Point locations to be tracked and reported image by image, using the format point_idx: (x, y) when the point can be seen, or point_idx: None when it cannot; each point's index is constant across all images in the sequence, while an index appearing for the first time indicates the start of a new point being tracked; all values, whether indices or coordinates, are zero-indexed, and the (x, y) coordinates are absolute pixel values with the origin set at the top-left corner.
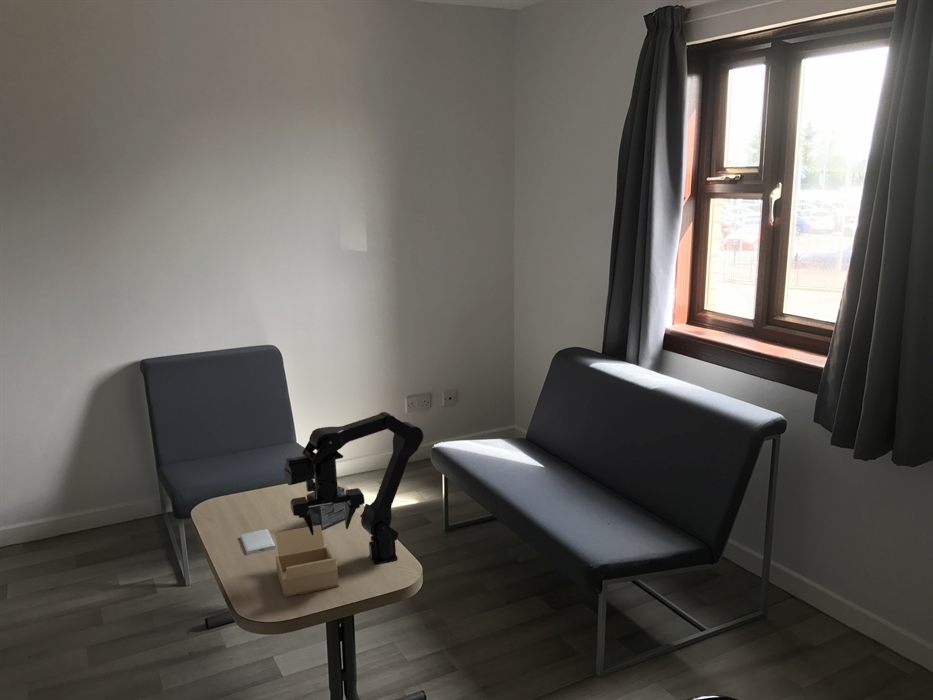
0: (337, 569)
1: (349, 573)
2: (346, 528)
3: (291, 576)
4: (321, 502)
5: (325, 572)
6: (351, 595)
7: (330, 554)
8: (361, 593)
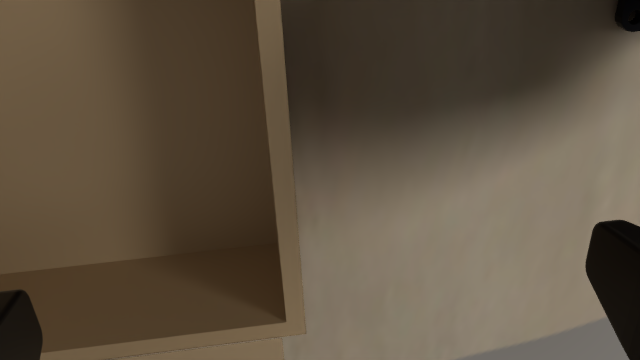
0: (305, 329)
1: (395, 98)
2: (591, 282)
3: None
4: None
5: (209, 349)
6: (347, 343)
7: (281, 76)
8: (403, 336)
